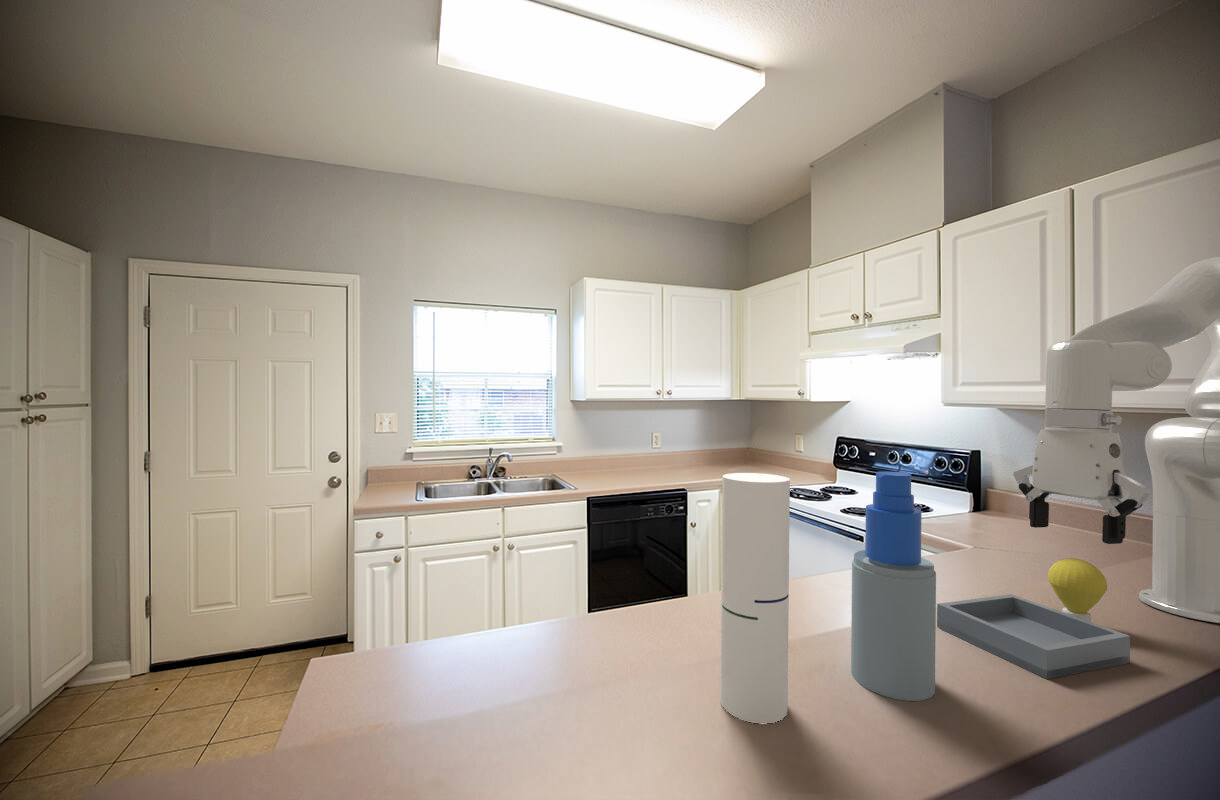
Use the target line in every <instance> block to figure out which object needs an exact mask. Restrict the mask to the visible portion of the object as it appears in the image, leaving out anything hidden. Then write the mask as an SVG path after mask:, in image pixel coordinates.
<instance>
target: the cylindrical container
mask: <svg viewBox="0 0 1220 800" xmlns="http://www.w3.org/2000/svg"><path fill="white" fill-rule="evenodd" d="M721 483H722V489H721V490H722V500H721V502H722V503H721V504H722V506H721V507H722V508H721V511H722V512H721V576H720V577H721V584H720V586H721V589H720V591H721V592H720V593H721V595H720V596H721V599H720V602H721V604H720V607H721V608H720V676H719V677H720V679H719V680H720V681H719V682H720V683H719V688H720V692H719V693H720V694H719V695H720V696H719V697H720V698H719V701H721V702H720V704H722V705H721V707H722V706H723V707H724V708H725V709H726V710H727V711H728V712H730V713H731V714H733V715H734V716H736V717H738V718H740V719H743V720H746V721H749V722H753V723H764V724H763V725H766V724H765V723H773V724H776V723H778V722H777V721H779V722H781V721H782V720H784V719H785V718H786V717H787V715H788V709H789V708H788V695H789V693H788V692H789V690H788V689H789V688H788V687H789V679H788V678H789V608H790V607H789V601H790V600H789V599H790V597H789V596H790V595H789V589H790V584H789V583H790V580H789V579H790V504H791V502H790V500H791V499H790V495H791V494H790V493H791V491H790V490H791V489H790V488H791V487H790V486H791V484H790V483H791V478H790V477H787V476H785V475H784V476H783V475H778V474H771V473H759V472H758V473H757V472H734V473H733V472H732V473H726V474H723V475H722V482H721ZM723 707H722V708H723ZM724 708H723V709H724ZM725 709H724V710H725ZM727 711H726V712H727ZM728 712H727V713H728ZM785 716H786V717H785ZM784 717H785V718H784ZM783 718H784V719H783ZM740 719H739V720H740ZM780 720H781V721H780ZM775 722H776V723H775ZM753 723H752V724H753Z"/></svg>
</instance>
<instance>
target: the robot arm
mask: <svg viewBox="0 0 1220 800" xmlns="http://www.w3.org/2000/svg"><path fill="white" fill-rule="evenodd" d="M1204 331H1206V334H1207V336H1208V340H1209V342H1210V353H1209V355H1208V356H1207V358H1206V360H1205V361H1204V363H1203V365H1202V367H1201V368H1200V370H1199V372H1198V373H1197V375H1195V378H1194V379H1193V381H1192V383H1191V385H1190V386H1189V389H1188V391H1187V392H1186V395H1185V397H1184V409H1185V412H1186V413H1187V414H1188V415H1189V416H1187V417H1185V416H1183V417H1174V418H1167V419H1163V420H1160V421H1158V422H1156V423H1155V424H1153V425H1152V426H1151V427H1150V428H1149V429H1148V430H1147V431H1146V434H1145V437H1144V448H1145V454H1146V457H1147V461H1148V464H1149V469H1150V474H1151V485H1152V489H1151V488H1149V487H1148V486H1146V485H1144V484H1142V483H1140V482H1139V481H1136V480H1134V479H1133V478H1131V477H1129V476H1127V475H1126V464H1125V455H1124V450H1123V445H1122V442H1121V438H1120V435H1119V433H1118V432H1112V429H1113V428H1114V427H1113V426H1114V425H1115V426H1117V425H1118V426H1119V425H1120V426H1121V424H1122V423H1123V418H1122V416H1121V415H1115V414H1114V411H1112V409H1113V408H1112V406H1113V392H1137V391H1145V390H1150V389H1154V388H1156V387H1158V386H1160V385H1162V384H1163V383H1164V382H1165V381H1166V380H1167V379H1168V378H1169V376H1171V375H1170V374H1171V373H1172V370H1173V369H1172V367H1173V363H1172V359H1171V357H1170V355H1169V353H1168V352H1167V351H1166V350H1165V348H1169V347H1173V346H1175V345H1178V344H1179V345H1180V344H1182V343H1186V342H1187V341H1190V340H1193V339H1195V338H1196V337H1199V335H1202V333H1204ZM1045 369H1046V370H1045V375H1046V377H1045V405H1044V429H1040V430H1039V433H1038V436H1037V439H1036V445H1035V448H1034V456H1033V461H1032V462H1033V464H1032V465H1029V466H1028V467H1027V466H1026V467H1024V468H1021V469H1019V470H1016V471H1014V472H1013V477H1014V478H1015V479H1014V480H1016V481H1015V482H1016V483H1017V484H1018V489H1019V490H1020V492H1021V493H1022V494H1023V495H1024V496H1025V497H1024V498H1025V500H1026V501H1027V502H1029V505H1028V506H1029V509H1028V510H1029V511H1028V512H1029V513H1028V517H1029V518H1028V519H1029V526H1030V527H1031V528H1035V529H1036V528H1038V529H1039V528H1048V527H1049V522H1050V521H1049V519H1050V504H1049V502H1048V501H1046V500H1047V499H1048V498H1049V497H1050V496H1052V495H1059V496H1066V497H1073V498H1079V499H1085V500H1093V501H1097V502H1098V503H1099V504H1100V506H1101V507H1102V508H1103V509H1104V510H1105V511H1106V513H1107V514H1104V515H1103V517H1102V529H1101V530H1102V534H1101V535H1102V536H1101V537H1102V539H1101V541H1102V543H1104V544H1107V545H1116V544H1117V545H1118V544H1119V545H1120V544H1123V541H1124V539H1125V538H1126V527H1127V524H1126V523H1127V521H1126V520H1127V517H1129V516H1131V515H1132V513H1134V512H1135V511H1137V510H1138V509H1140V508H1142V507H1143V503H1144V502H1145V501H1147V499H1148V498H1149V496H1150V495H1151V493H1152V563H1151V564H1152V566H1151V567H1152V568H1151V569H1152V570H1151V571H1152V579H1151V581H1152V582H1151V583H1152V584H1151V585H1152V586H1151V588H1147V589H1141V591H1139V593H1138V594H1139V595H1138V596H1139V597H1138V598H1139V599H1140V601H1142V603H1144V604H1146V605H1148V606H1150V607H1152V608H1155V609H1158V610H1160V611H1163V612H1166V613H1169V614H1174V615H1177V616H1181V617H1184V618H1189V619H1194V620H1198V621H1204V622H1210V623H1214V624H1220V256H1215V257H1210V258H1206V259H1203V260H1199V261H1196V262H1193V263H1192V264H1189V265H1188V266H1186V267H1185V268H1183V269H1182V270H1180V272H1178V273H1177V274H1176V275H1175V276H1173V277H1172V278H1170V280H1169V281H1167V282H1166V283H1165V284H1164V285H1163V286H1162V287H1161V288H1159V289H1158V290H1157V291H1156V292H1154V294H1152V295H1151V296H1150V297H1149V298H1147V299H1146V300H1145V301H1144V302H1141V303H1140V304H1137V305H1134V306H1132V307H1129V308H1127V309H1125V310H1123V311H1120V312H1117V313H1116V314H1113V315H1111V316H1109V317H1107V318H1104V319H1101V320H1099V321H1097V322H1095V323H1092V324H1091V325H1088V326H1087V327H1085V328H1082V329H1081V330H1079V331H1078V332H1076V333H1075V334H1073V335H1072V336H1071V337H1069V338H1068V339H1067V340H1063V341H1057V342H1055V343H1052V344H1051V345H1050V346H1049V347H1048V349H1047V352H1046V368H1045ZM1030 477H1032V483H1031V482H1030ZM1127 490H1128V491H1129V496H1128V497H1127V499H1125V500H1122V499H1124V498H1125V497H1126V494H1127Z"/></svg>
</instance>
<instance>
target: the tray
mask: <svg viewBox="0 0 1220 800" xmlns="http://www.w3.org/2000/svg"><path fill="white" fill-rule="evenodd" d="M936 615H937V616H936V627H937V629H940V630H942V631H945V632H946V633H949V634H951V635H952V636H955V637H957V638H959V639H961V640H963V641H965V642H967V643H970V644H972V645H974V646H976V647H978V648H980V649H982V650H984V651H986V652H989V653H991V654H993V655H995V656H997V657H999V658H1001V659H1003V660H1005V661H1008V662H1010V663H1011V664H1013V665H1015V666H1018V667H1020V668H1022V669H1023V670H1027V671H1029V672H1030V673H1033V674H1035V675H1037V676H1039V677H1041V678H1043V679H1046V680H1051V679H1055V678H1060V677H1065V676H1066V677H1067V676H1070V675H1074V674H1082V673H1085V672H1090V671H1091V672H1092V671H1095V670H1101V669H1106V668H1110V667H1111V668H1112V667H1115V666H1121V665H1126V664H1131V661H1130V660H1131V635H1129V634H1125V633H1123V632H1120V631H1117V630H1114V629H1112V628H1109V627H1105V626H1104V625H1100V624H1097V623H1094V622H1091V621H1090V622H1089V621H1086V620H1083V619H1080V618H1078V617H1075V616H1072V615H1069V614H1066V613H1063V612H1062V611H1060V610H1057V609H1055V608H1051V607H1049V606H1046V605H1043V604H1040V603H1037V602H1034V601H1031V600H1028V599H1025V598H1023V597H1020V596H1017V595H1014V594H1005V595H996V596H989V597H988V596H987V597H980V598H972V599H963V600H956V601H950V602H941V603H936Z"/></svg>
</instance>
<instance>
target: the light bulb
mask: <svg viewBox="0 0 1220 800" xmlns="http://www.w3.org/2000/svg"><path fill="white" fill-rule="evenodd" d="M1047 580H1048V583H1049V584H1050V585H1051V587H1052V589H1053V591H1054V593H1055V595H1056V597H1057V598H1058V599H1059V600H1060V601H1061V603H1062V604H1063V606H1064V607H1063V608H1062V610H1061V612H1063V613H1066V614H1069V615H1072V616H1075V617H1078V618H1080V619H1083V620H1086V621H1089V622H1091V621H1092V614H1091V613H1090V612H1089V611H1090V610H1091V609H1092V608H1094V607H1095V605H1097V603H1099V601H1100V600H1101V598H1103V596H1104V595H1105V593H1106V592H1107V591H1108V583H1107V579H1106V578H1105V576H1104V574H1103V573H1102V571H1101V570H1100V569H1099V568H1098V567H1096V566H1095V565H1094V564H1092V563H1090V562H1088V561H1086V560H1083V559H1079V558H1072V557H1070V558H1063V559H1060V560H1058V561H1056V562H1054V563H1053V564H1052V565H1051V566H1050V568H1049V569H1048V573H1047Z"/></svg>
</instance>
